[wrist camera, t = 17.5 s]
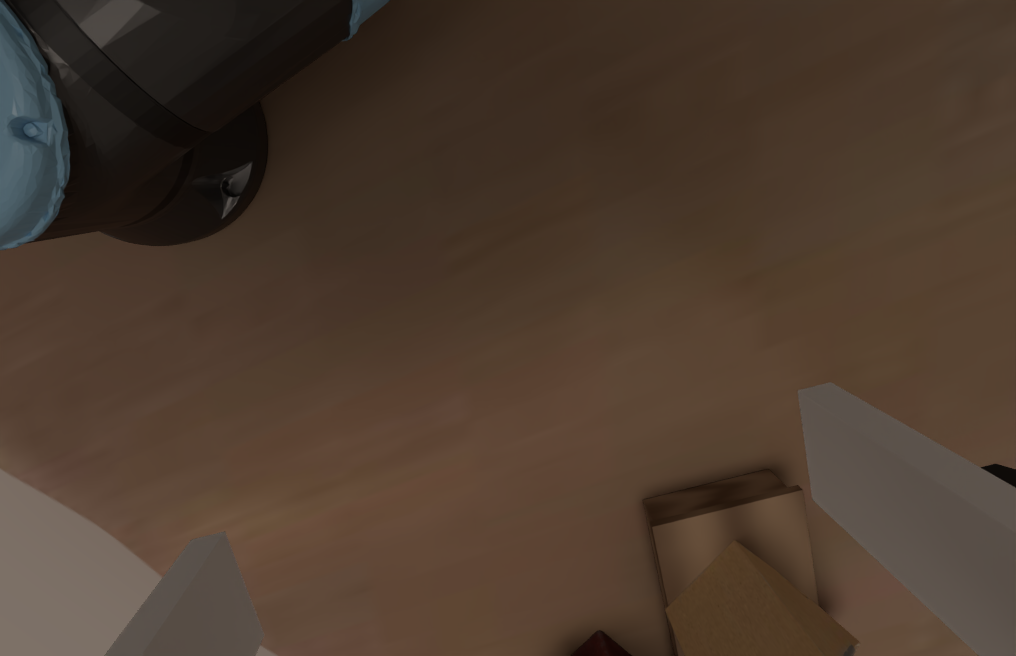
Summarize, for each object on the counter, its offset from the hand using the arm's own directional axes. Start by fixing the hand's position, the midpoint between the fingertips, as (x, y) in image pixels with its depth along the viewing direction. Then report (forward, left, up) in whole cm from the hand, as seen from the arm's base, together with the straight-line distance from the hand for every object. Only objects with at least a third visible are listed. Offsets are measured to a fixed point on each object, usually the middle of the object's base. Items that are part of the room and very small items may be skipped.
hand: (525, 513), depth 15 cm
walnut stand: (+14, -31, -37) cm, 50 cm away
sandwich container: (+15, -33, -32) cm, 48 cm away
